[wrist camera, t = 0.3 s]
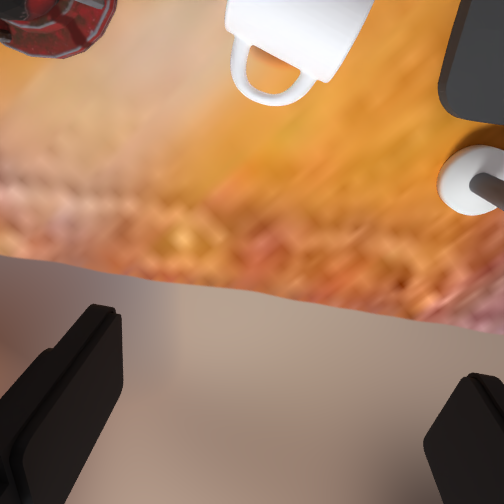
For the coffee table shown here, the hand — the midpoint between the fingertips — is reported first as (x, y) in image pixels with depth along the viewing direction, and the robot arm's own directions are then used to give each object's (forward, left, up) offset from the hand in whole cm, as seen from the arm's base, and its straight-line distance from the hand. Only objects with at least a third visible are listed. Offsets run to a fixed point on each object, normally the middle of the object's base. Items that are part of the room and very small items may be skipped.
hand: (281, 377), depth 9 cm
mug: (-11, -2, -32) cm, 34 cm away
